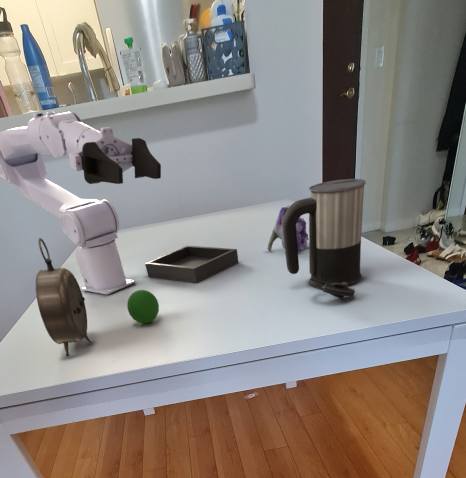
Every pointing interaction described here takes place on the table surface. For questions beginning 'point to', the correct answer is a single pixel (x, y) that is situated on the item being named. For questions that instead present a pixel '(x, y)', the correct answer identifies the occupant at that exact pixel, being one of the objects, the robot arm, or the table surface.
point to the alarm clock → (61, 304)
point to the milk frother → (329, 235)
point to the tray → (192, 263)
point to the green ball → (143, 306)
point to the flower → (278, 231)
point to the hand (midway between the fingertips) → (140, 173)
